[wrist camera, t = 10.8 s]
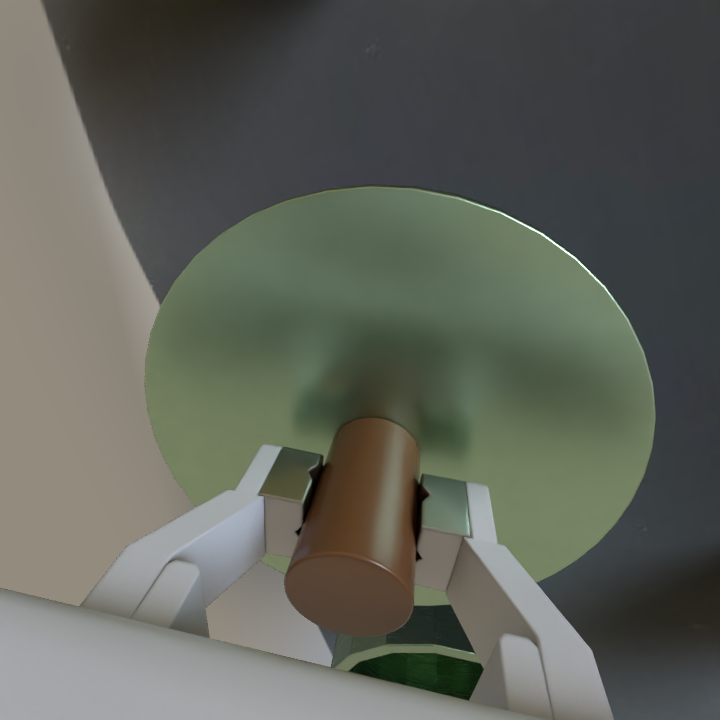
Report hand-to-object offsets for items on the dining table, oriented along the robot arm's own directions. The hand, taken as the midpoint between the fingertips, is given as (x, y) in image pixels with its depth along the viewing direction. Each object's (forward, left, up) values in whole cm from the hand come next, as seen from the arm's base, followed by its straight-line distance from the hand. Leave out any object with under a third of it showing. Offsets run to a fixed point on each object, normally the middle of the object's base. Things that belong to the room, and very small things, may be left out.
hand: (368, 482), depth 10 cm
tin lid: (0, 0, -2) cm, 2 cm away
